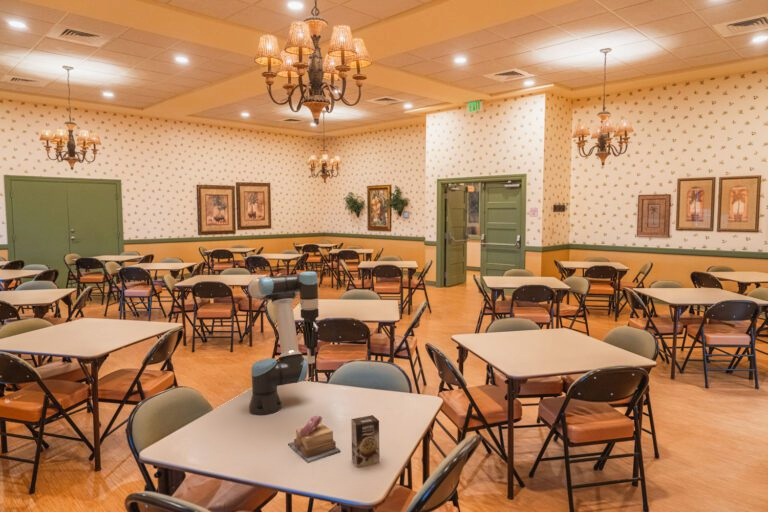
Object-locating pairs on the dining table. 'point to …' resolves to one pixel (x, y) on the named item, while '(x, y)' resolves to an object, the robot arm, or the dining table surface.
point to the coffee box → (365, 440)
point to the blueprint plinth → (315, 444)
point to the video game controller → (311, 425)
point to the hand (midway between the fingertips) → (311, 362)
